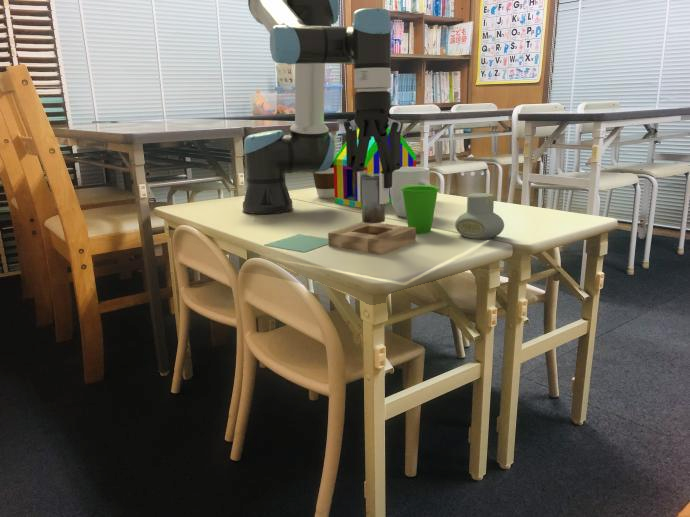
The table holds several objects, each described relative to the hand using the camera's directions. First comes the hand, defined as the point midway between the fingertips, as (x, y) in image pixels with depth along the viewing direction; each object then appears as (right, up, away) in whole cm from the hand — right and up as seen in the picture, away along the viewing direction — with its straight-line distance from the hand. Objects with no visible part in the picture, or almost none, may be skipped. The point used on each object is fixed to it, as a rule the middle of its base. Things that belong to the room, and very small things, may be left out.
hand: (373, 201), depth 120 cm
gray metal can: (0, -4, +1) cm, 4 cm away
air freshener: (+25, -8, +8) cm, 27 cm away
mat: (-16, -9, +5) cm, 19 cm away
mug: (+12, -1, +33) cm, 36 cm away
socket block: (0, -9, +3) cm, 10 cm away
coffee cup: (-12, +9, +69) cm, 71 cm away
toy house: (+4, +6, +60) cm, 60 cm away
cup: (+12, -6, +13) cm, 19 cm away
